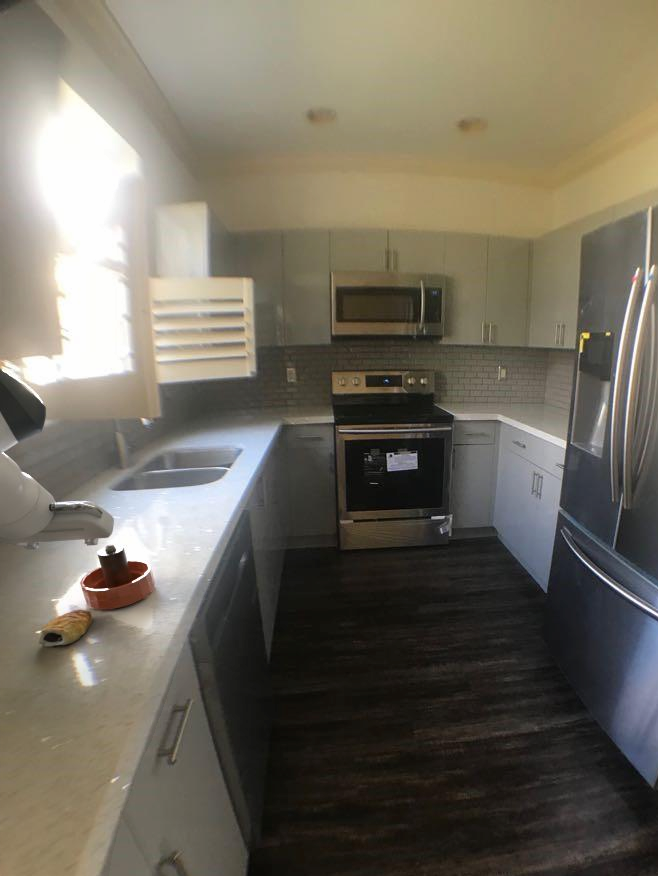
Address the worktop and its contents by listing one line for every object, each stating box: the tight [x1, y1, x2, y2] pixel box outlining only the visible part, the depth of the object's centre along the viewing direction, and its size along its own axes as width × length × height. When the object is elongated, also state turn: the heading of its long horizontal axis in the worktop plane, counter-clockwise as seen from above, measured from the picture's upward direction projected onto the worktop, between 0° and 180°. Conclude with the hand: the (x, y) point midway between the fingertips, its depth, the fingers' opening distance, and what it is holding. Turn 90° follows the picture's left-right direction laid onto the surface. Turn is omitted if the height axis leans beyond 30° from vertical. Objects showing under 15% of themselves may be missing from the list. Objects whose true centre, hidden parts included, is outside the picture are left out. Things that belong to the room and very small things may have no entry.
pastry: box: [37, 609, 93, 648], centre depth 85 cm, size 9×7×4 cm
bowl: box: [79, 559, 156, 610], centre depth 97 cm, size 13×13×5 cm
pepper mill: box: [96, 543, 133, 589], centre depth 96 cm, size 5×5×11 cm
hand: (64, 543), depth 80 cm, fingers open, 8 cm apart
